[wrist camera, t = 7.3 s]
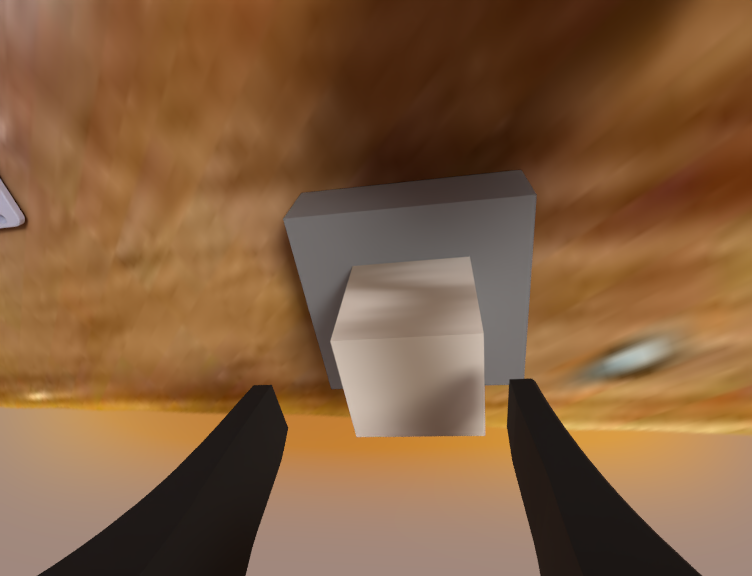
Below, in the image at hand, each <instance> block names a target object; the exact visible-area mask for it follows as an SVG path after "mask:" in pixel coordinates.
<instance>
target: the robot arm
mask: <svg viewBox="0 0 752 576" xmlns="http://www.w3.org/2000/svg"><path fill="white" fill-rule="evenodd" d="M24 222H25V217H24V215H23V213H22V212H21V210H20V209H19V207H18V205H17V204H16V202H15V201H14V199H13V198H12V196H11V195H10V193H9V191H8V190H7V188H6V187H5V185H4V184H3V182H2V181H1V179H0V228H8V227H17V226H19V225H21V224H23V223H24ZM507 429H508V436H509V443H510V449H511V455H512V461H513V465H514V469H515V473H516V477H517V481H518V484H519V488H520V492H521V496H522V500H523V503H524V507H525V511H526V514H527V518H528V522H529V526H530V529H531V533H532V537H533V541H534V545H535V550H536V554H537V558H538V564H539V569H540V574H541V576H702V575H701V574H700V573H698V572H697V571H696V570H695V569H694V568H693V567H692V566H691V565H690V564H689V563H688V562H687V561H685V560H684V559H683V558H682V557H681V556H680V555H679V554H678V553H677V552H676V551H675V550H674V549H673V548H672V547H671V546H670V545H668V544H667V543H666V542H665V541H664V540H663V539H662V538H661V537H660V536H659V535H658V534H657V533H656V532H655V531H654V530H653V529H652V528H651V527H650V526H649V525H648V524H647V523H646V522H645V521H644V520H643V519H642V518H641V517H640V516H639V515H638V514H637V513H636V512H635V511H634V510H633V509H632V508H631V507H630V506H629V505H628V504H627V503H626V501H625V500H624V499H623V498H622V497H621V496H620V495H619V494H618V493H617V492H616V490H615V489H614V488H613V487H612V486H611V485H610V484H609V483H608V481H607V480H606V479H605V478H604V477H603V476H602V474H601V473H600V472H599V471H598V470H597V468H596V467H595V466H594V465H593V464H592V462H591V461H590V460H589V459H588V458H587V456H586V455H585V454H584V452H583V451H582V450H581V449H580V447H579V446H578V445H577V443H576V442H575V441H574V439H573V438H572V436H571V435H570V434H569V432H568V431H567V430H566V428H565V427H564V426H563V424H562V423H561V421H560V420H559V419H558V417H557V416H556V414H555V413H554V411H553V410H552V408H551V407H550V405H549V403H548V402H547V400H546V399H545V397H544V396H543V394H542V392H541V391H540V389H539V387H538V385H537V384H536V382H535V381H534V380H533V379H509V397H508V417H507ZM287 431H288V426H287V424H286V421H285V418H284V416H283V413H282V411H281V408H280V405H279V403H278V400H277V397H276V395H275V392H274V390H273V387H272V385H254V386H253V387H252V388H251V389H250V390H249V391H248V392H247V393H246V394H245V395H244V397H243V398H242V399H241V400H240V401H239V402H238V403H237V404H236V405H235V407H234V408H233V409H232V410H231V411H230V412H229V413H228V414H227V416H226V417H225V418H224V419H223V420H222V421H221V422H220V424H219V425H218V426H217V427H216V428H215V429H214V430H213V431H212V432H211V433H210V434H209V436H208V437H207V438H206V439H205V440H204V441H203V442H202V443H201V444H200V445H199V446H198V447H197V448H196V449H195V450H194V451H193V452H192V453H191V454H190V455H189V456H188V457H187V458H186V459H185V460H184V461H183V462H182V463H181V464H180V465H179V466H178V467H177V469H175V470H174V471H173V472H172V473H171V474H170V475H169V476H168V477H167V478H166V479H165V480H163V481H162V482H161V483H160V484H159V485H158V486H157V487H156V488H155V489H153V490H152V491H151V492H150V493H149V494H148V495H147V496H145V497H144V498H143V499H142V500H141V501H139V502H138V503H137V504H136V505H135V506H133V507H132V508H131V509H130V510H128V511H127V512H126V513H124V514H123V515H122V516H121V517H119V518H118V519H117V520H116V521H114V522H113V523H112V524H111V525H109V526H108V527H107V528H106V529H104V530H103V531H102V532H100V533H99V534H98V535H96V536H95V537H94V538H92V539H91V540H89V541H88V542H86V543H85V544H84V545H82V546H81V547H80V548H78V549H77V550H75V551H74V552H72V553H71V554H69V555H68V556H67V557H65V558H64V559H62V560H61V561H59V562H58V563H56V564H55V565H53V566H52V567H50V568H49V569H47V570H46V571H44V572H42V573H41V574H39V575H38V576H245V575H246V571H247V567H248V563H249V559H250V554H251V551H252V547H253V544H254V540H255V537H256V534H257V531H258V527H259V525H260V522H261V519H262V516H263V513H264V510H265V507H266V504H267V501H268V499H269V495H270V493H271V490H272V487H273V484H274V481H275V478H276V475H277V472H278V469H279V466H280V463H281V459H282V455H283V451H284V446H285V441H286V436H287Z"/></svg>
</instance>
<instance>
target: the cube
mask: <svg viewBox="0 0 752 576" xmlns="http://www.w3.org/2000/svg"><path fill="white" fill-rule="evenodd" d="M330 342H331V345H332V349H333V353H334V356H335V360H336V364H337V367H338V371H339V375H340V378H341V382H342V386H343V389H344V393H345V397H346V400H347V404H348V408H349V411H350V415H351V419H352V422H353V426H354V430H355V433H356V437H406V436H408V437H410V436H485V385H484V332H483V327H482V321H481V315H480V310H479V304H478V299H477V293H476V288H475V282H474V277H473V271H472V266H471V260H470V257H458V258H445V259H433V260H421V261H409V262H396V263H384V264H372V265H359V266H352V270H351V273H350V277H349V280H348V283H347V287H346V290H345V293H344V297H343V300H342V304H341V307H340V310H339V314H338V317H337V320H336V324H335V327H334V331H333V334H332V337H331V341H330Z"/></svg>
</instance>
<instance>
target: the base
mask: <svg viewBox="0 0 752 576" xmlns="http://www.w3.org/2000/svg"><path fill="white" fill-rule="evenodd" d="M536 195H537V194H536V193H535V191H534V190H533V188H532V186H531V185H530V183H529V181H528V180H527V178H526V177H525V175H524V173H523V172H522V170H514V171H505V172H495V173H486V174H476V175H467V176H457V177H448V178H438V179H429V180H420V181H410V182H401V183H391V184H382V185H372V186H363V187H353V188H344V189H335V190H325V191H316V192H306V193H301V194H300V196H299V197H298V199H297V200H296V201H295V203H294V204H293V206H292V207H291V208H290V210H289V211H288V213H287V214H286V215H285V217H284V218H283V220H284V224H285V227H286V231H287V234H288V238H289V241H290V245H291V248H292V252H293V255H294V259H295V262H296V266H297V270H298V273H299V277H300V280H301V284H302V287H303V291H304V294H305V298H306V301H307V305H308V308H309V312H310V315H311V319H312V322H313V326H314V330H315V333H316V337H317V340H318V344H319V347H320V351H321V354H322V358H323V361H324V365H325V368H326V372H327V375H328V379H329V382H330V386H331V389H343V386H342V382H341V378H340V375H339V371H338V367H337V364H336V360H335V356H334V353H333V349H332V345H331V342H330V341H331V337H332V334H333V331H334V327H335V324H336V320H337V317H338V314H339V310H340V307H341V304H342V300H343V297H344V293H345V290H346V287H347V283H348V280H349V277H350V273H351V270H352V266H359V265H372V264H384V263H396V262H409V261H421V260H433V259H445V258H458V257H470V260H471V266H472V271H473V277H474V282H475V288H476V293H477V299H478V304H479V310H480V315H481V321H482V327H483V332H484V385H509V379H524V371H525V356H526V342H527V327H528V312H529V298H530V283H531V268H532V254H533V239H534V225H535V210H536Z"/></svg>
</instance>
